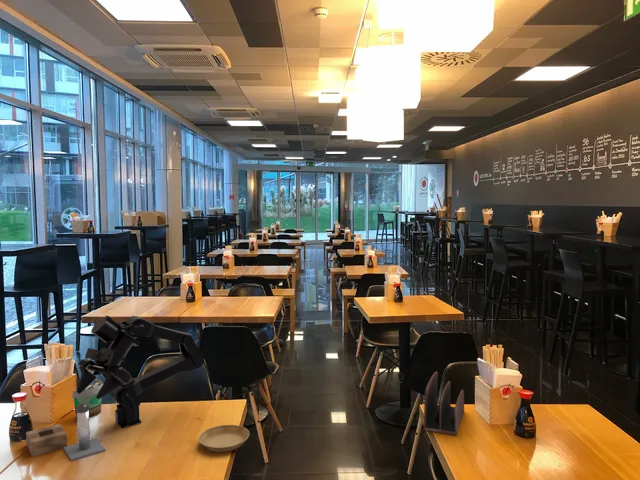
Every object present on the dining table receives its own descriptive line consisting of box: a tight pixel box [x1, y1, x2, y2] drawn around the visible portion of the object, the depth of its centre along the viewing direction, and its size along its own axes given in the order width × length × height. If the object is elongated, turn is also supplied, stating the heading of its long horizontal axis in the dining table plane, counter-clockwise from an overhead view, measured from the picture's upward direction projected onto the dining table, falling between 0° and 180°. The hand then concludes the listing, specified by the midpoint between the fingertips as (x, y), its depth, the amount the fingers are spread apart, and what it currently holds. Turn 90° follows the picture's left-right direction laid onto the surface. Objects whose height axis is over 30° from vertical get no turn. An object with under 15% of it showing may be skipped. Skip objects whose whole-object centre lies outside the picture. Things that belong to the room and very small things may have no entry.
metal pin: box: [77, 403, 91, 450], centre depth 143 cm, size 3×3×13 cm
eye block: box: [25, 423, 68, 458], centre depth 146 cm, size 9×9×4 cm
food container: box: [71, 379, 104, 420], centre depth 169 cm, size 12×6×10 cm, turn 168°
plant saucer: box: [198, 424, 250, 453], centre depth 146 cm, size 15×15×3 cm
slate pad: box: [63, 438, 106, 462], centre depth 143 cm, size 9×9×1 cm
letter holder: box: [423, 371, 465, 436], centre depth 160 cm, size 10×20×14 cm, turn 157°
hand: (87, 395), depth 149 cm, fingers open, 9 cm apart
